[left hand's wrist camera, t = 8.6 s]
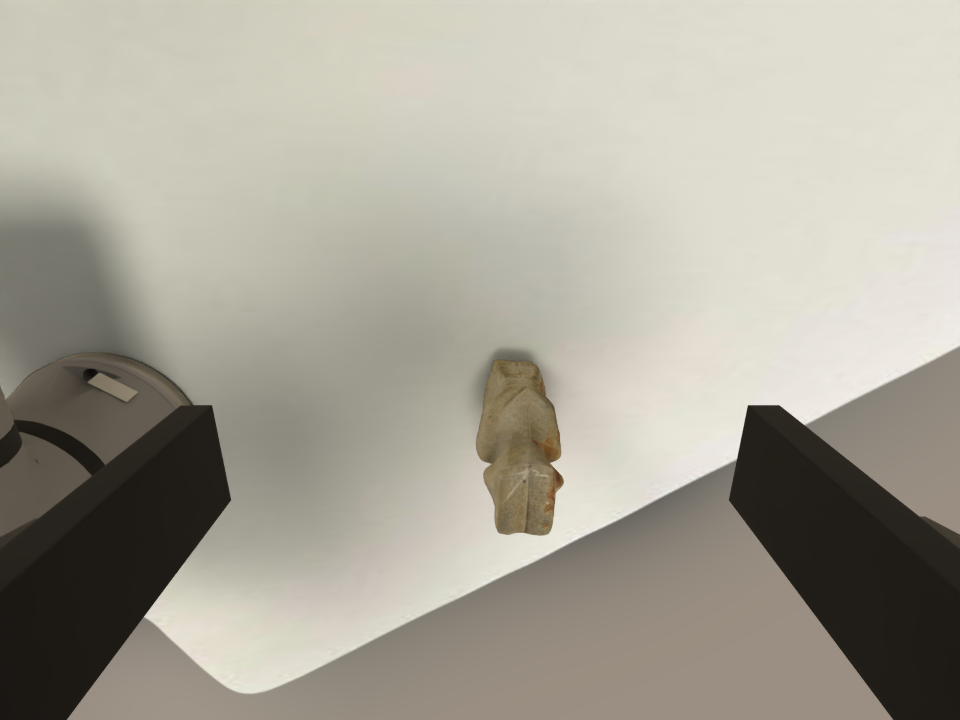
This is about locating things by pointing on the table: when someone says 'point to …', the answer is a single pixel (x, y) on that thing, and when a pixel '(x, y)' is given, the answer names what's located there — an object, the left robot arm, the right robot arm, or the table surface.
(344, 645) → the table surface
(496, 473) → the sculpture
